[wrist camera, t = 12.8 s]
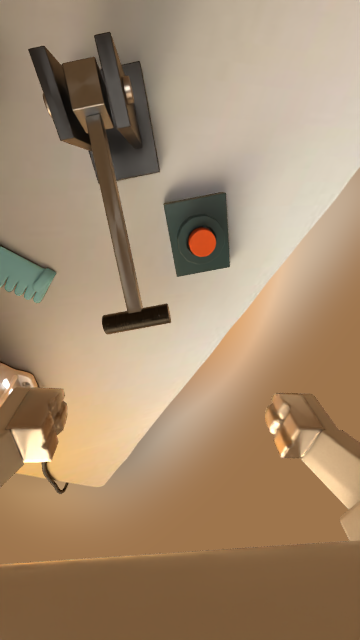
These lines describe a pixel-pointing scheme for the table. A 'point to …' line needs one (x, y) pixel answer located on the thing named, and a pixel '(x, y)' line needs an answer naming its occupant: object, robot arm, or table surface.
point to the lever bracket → (125, 104)
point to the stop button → (202, 242)
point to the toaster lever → (109, 191)
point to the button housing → (190, 217)
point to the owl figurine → (24, 276)
